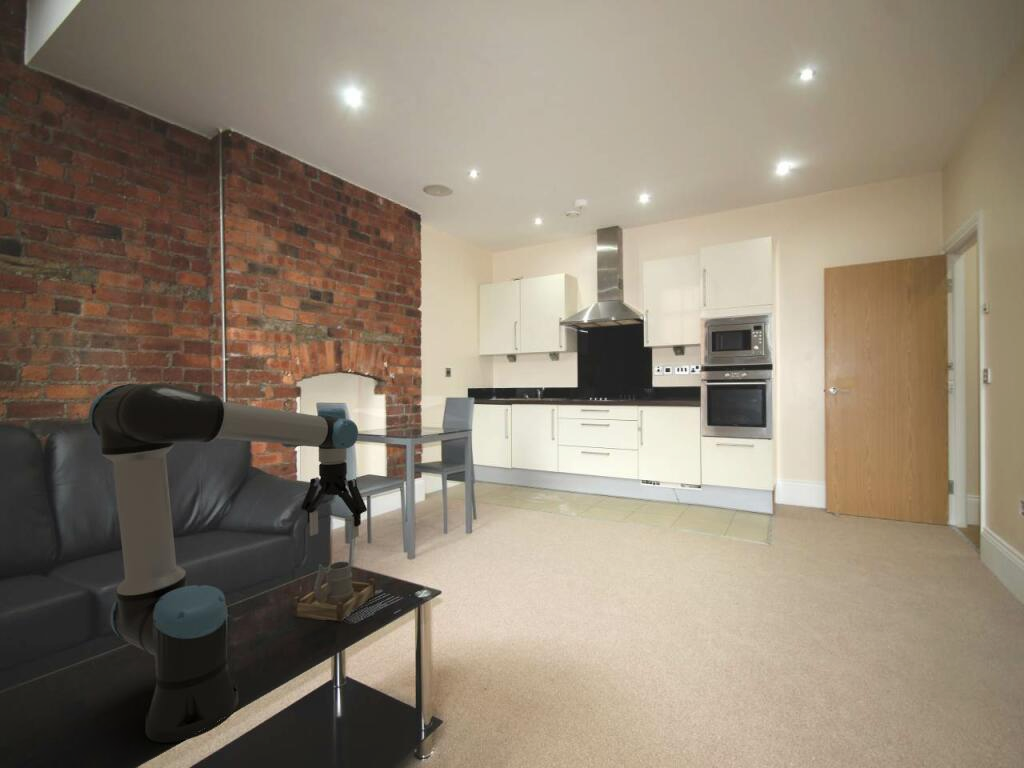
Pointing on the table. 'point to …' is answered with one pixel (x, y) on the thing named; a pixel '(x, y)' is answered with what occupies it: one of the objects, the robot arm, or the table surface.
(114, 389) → the robot arm
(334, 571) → the mug
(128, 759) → the table surface
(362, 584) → the wooden tray
